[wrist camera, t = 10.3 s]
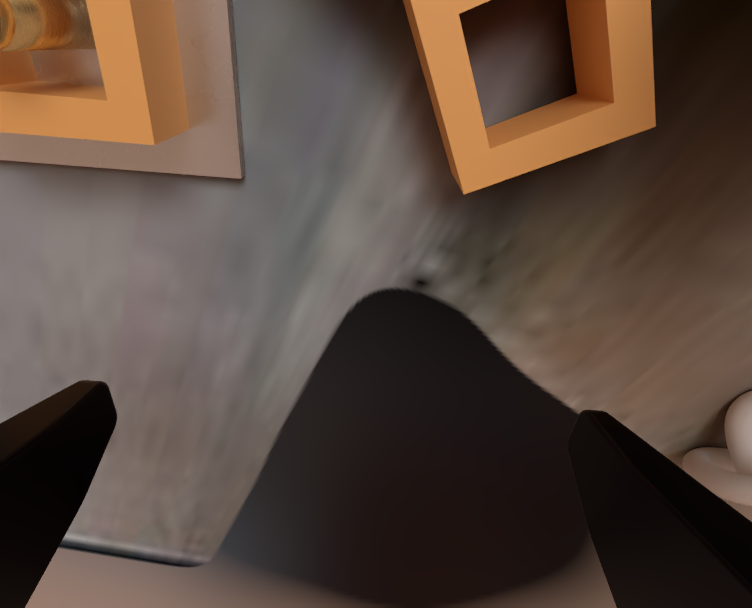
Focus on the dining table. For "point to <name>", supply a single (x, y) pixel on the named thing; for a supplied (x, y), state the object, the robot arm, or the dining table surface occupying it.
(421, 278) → the dining table surface
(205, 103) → the plate with brass peg
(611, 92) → the chain link
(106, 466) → the dining table surface
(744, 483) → the knot
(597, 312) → the dining table surface
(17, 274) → the dining table surface
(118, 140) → the end link
